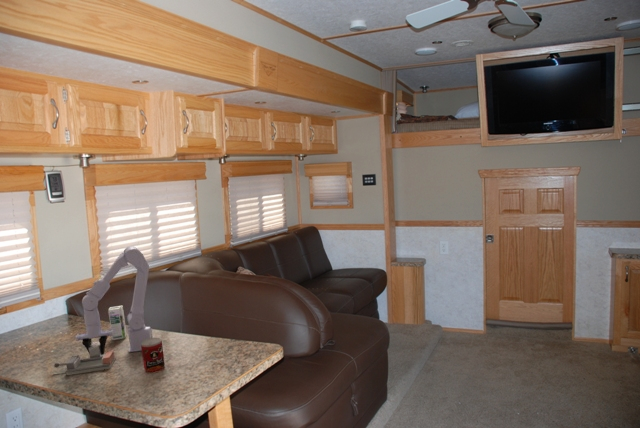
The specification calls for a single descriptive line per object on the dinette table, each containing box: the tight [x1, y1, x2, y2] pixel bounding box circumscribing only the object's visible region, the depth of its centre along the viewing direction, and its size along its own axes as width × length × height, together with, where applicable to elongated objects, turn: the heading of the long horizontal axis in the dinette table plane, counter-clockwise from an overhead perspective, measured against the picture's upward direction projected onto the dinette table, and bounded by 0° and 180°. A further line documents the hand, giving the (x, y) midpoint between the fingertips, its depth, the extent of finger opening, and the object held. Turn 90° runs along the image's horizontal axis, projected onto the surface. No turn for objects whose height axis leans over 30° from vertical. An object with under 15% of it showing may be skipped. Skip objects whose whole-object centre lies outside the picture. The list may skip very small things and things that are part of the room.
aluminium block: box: [88, 340, 106, 358], centre depth 211 cm, size 4×7×6 cm, turn 10°
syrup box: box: [107, 305, 127, 341], centre depth 234 cm, size 6×6×14 cm
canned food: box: [141, 337, 166, 374], centre depth 194 cm, size 8×8×11 cm
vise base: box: [53, 354, 116, 376], centre depth 201 cm, size 22×10×4 cm, turn 100°
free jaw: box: [102, 349, 116, 365], centre depth 203 cm, size 3×8×3 cm, turn 10°
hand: (97, 354), depth 211 cm, fingers closed on aluminium block, 4 cm apart
